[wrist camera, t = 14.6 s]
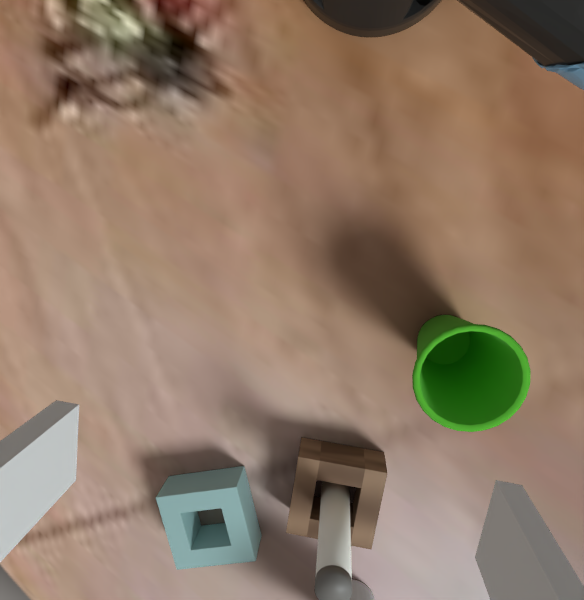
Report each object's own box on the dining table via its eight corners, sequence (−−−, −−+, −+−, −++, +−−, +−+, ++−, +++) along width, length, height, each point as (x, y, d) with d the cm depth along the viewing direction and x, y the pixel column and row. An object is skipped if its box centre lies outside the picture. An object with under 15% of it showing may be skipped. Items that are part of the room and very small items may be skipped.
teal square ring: (168, 476, 56) (155, 497, 52) (244, 465, 54) (236, 487, 50) (188, 543, 57) (176, 569, 53) (261, 535, 56) (255, 561, 52)
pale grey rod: (324, 467, 53) (317, 571, 39) (351, 472, 53) (354, 578, 39) (320, 491, 54) (312, 602, 39) (347, 496, 54) (348, 609, 39)
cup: (382, 359, 50) (393, 405, 39) (422, 280, 48) (445, 306, 37) (462, 394, 50) (495, 450, 39) (506, 317, 48) (553, 353, 37)
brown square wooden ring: (301, 437, 53) (298, 456, 49) (383, 452, 52) (387, 473, 48) (289, 508, 55) (286, 532, 51) (369, 523, 54) (371, 549, 50)
